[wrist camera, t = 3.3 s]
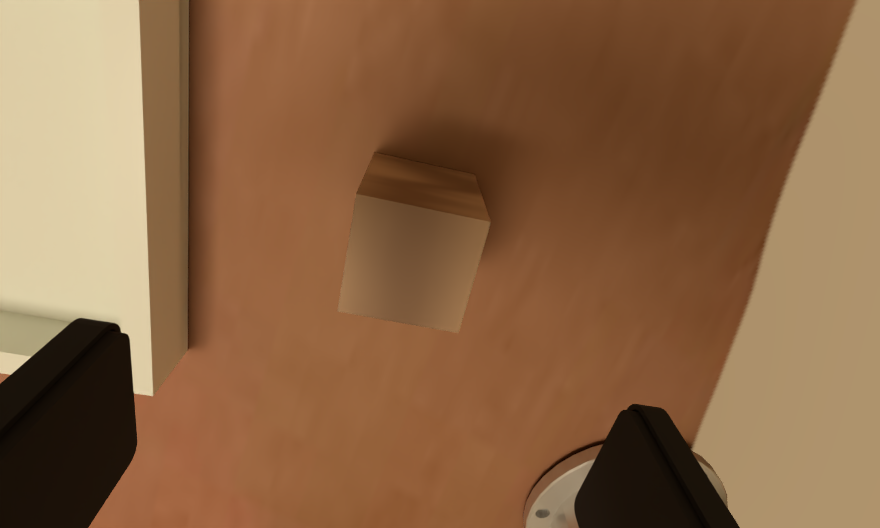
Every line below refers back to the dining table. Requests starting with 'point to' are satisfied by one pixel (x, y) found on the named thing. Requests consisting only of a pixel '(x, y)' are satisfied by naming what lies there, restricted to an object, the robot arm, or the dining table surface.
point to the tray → (95, 176)
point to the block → (414, 244)
